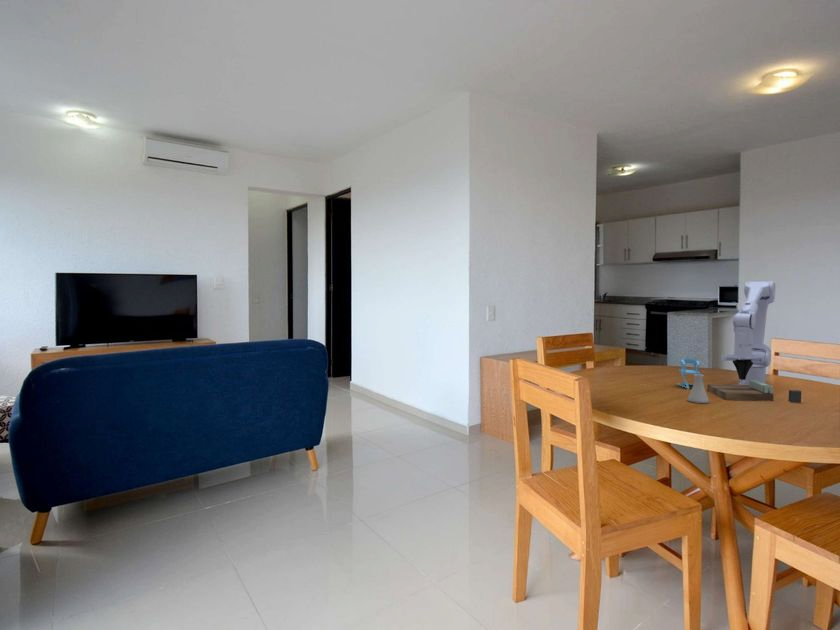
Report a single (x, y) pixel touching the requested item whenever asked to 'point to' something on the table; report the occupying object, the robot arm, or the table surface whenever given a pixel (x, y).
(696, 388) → the flask
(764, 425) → the table surface
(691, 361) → the chair
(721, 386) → the stool seat
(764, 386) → the folding leg
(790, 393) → the block
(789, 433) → the table surface
